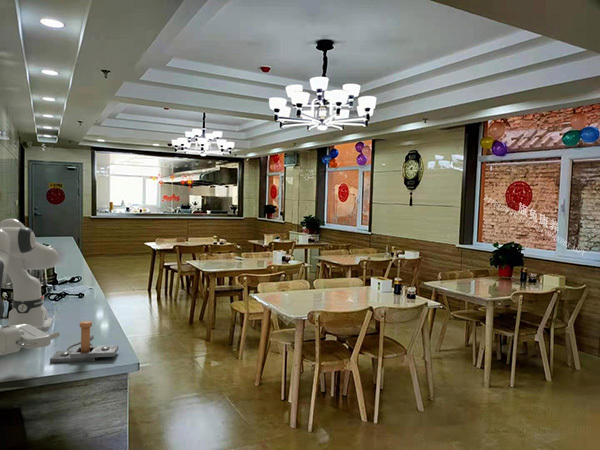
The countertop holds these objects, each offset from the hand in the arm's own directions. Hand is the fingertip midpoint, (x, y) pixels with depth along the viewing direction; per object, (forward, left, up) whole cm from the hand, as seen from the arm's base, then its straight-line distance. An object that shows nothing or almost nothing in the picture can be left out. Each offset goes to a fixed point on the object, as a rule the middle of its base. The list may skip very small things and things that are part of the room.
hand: (53, 331), depth 167 cm
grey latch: (-7, +9, -13) cm, 18 cm away
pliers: (-25, +3, -14) cm, 29 cm away
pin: (-7, +9, -13) cm, 18 cm away
